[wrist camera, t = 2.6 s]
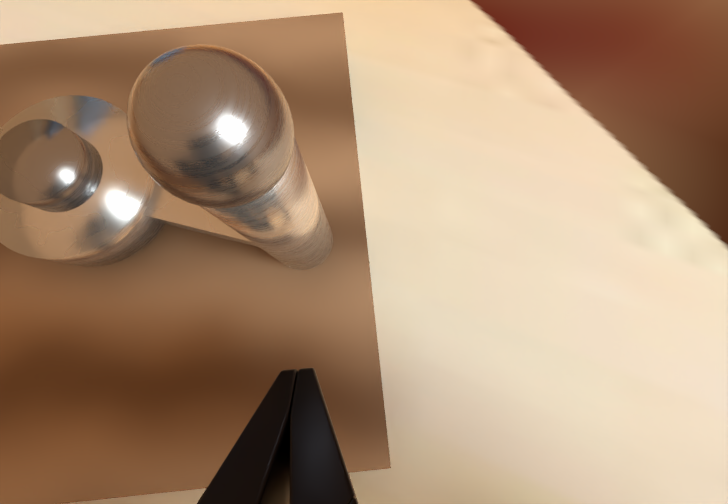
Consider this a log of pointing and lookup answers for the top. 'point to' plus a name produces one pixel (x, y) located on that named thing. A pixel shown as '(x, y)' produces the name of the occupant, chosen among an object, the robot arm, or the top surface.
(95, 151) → the metal post and dome
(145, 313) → the stand
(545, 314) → the top surface
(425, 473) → the top surface
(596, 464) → the top surface
